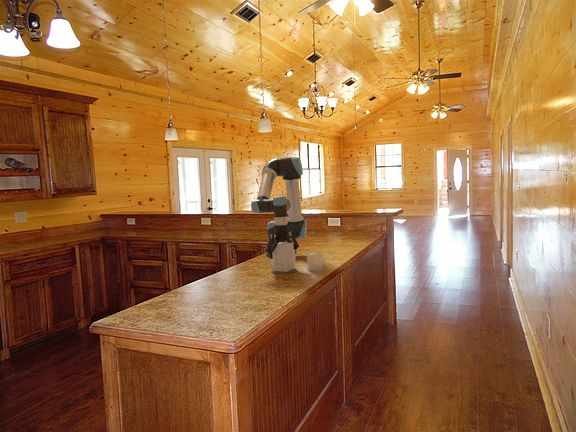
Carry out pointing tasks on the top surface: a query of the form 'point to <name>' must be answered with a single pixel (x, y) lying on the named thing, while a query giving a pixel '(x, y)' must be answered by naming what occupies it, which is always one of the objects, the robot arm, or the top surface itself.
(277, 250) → the supplement box
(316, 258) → the beige rounded cylinder
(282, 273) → the base disk
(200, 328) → the top surface
